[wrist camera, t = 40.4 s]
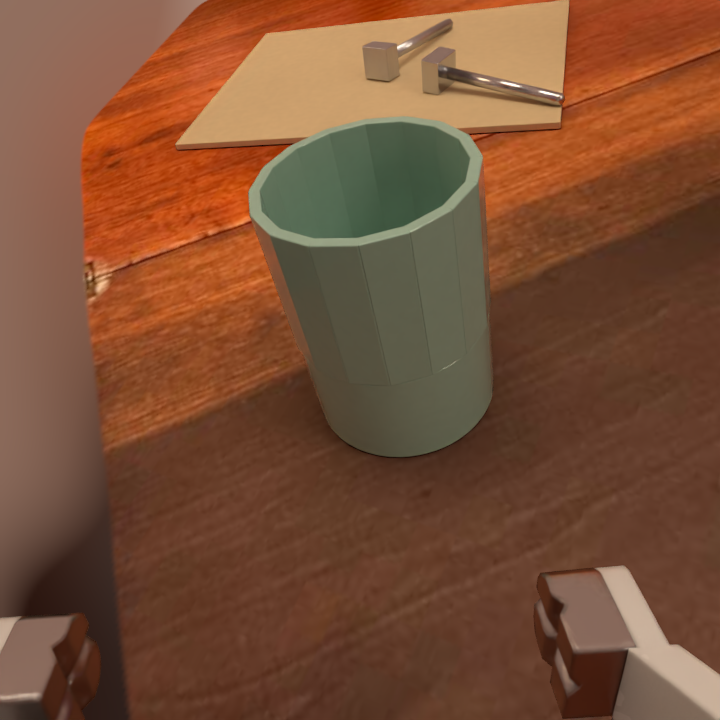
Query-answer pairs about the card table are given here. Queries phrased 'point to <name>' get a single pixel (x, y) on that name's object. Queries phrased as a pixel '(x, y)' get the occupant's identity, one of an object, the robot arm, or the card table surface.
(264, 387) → the card table surface
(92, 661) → the robot arm
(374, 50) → the square head hammer
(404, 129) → the tumbler
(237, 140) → the mat
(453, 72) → the metal mallet
